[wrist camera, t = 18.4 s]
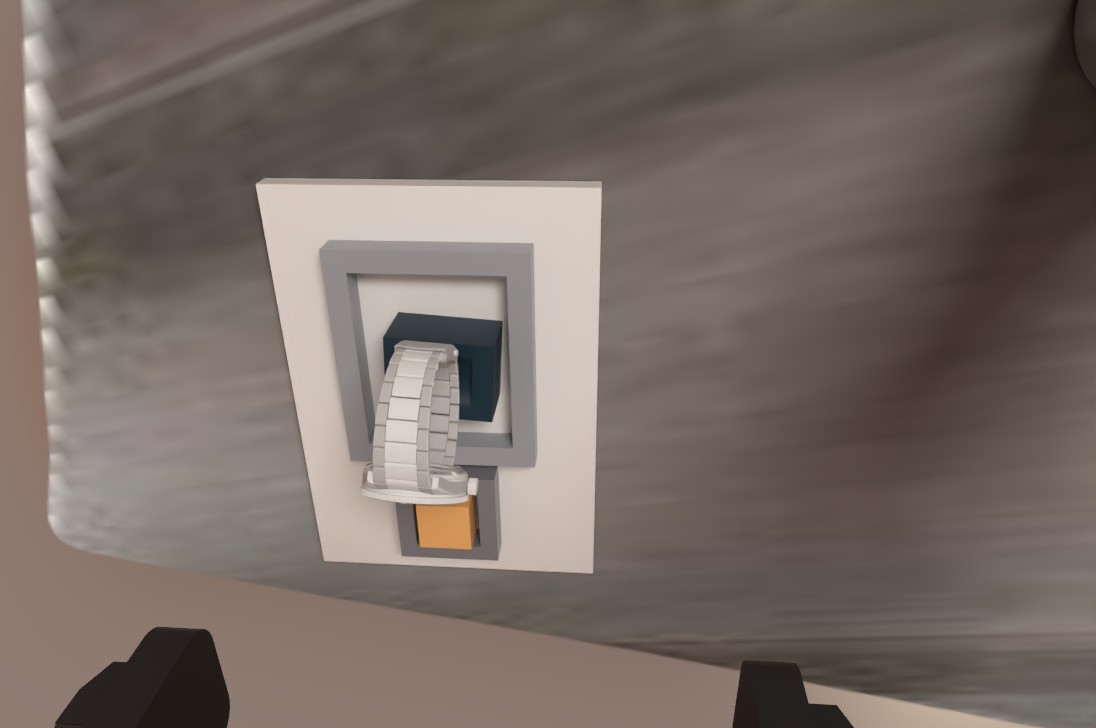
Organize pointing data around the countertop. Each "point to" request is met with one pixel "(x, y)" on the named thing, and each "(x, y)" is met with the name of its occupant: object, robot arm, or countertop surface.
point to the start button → (447, 525)
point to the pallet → (458, 291)
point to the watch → (431, 406)
